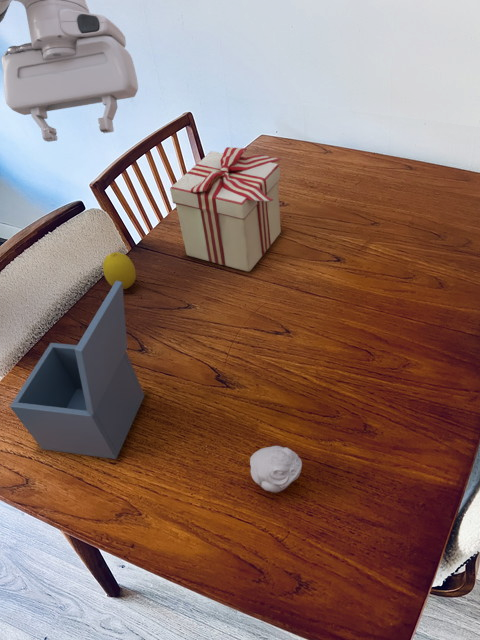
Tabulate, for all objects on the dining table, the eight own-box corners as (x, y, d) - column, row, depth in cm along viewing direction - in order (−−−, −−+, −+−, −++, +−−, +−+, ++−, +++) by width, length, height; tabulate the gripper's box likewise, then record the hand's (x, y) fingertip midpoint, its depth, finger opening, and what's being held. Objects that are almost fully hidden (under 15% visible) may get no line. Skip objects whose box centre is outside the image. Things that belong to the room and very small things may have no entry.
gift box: (269, 277, 97) (261, 193, 84) (182, 261, 102) (162, 179, 89) (299, 227, 107) (296, 145, 94) (219, 214, 112) (205, 135, 99)
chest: (41, 449, 75) (9, 406, 67) (76, 387, 82) (50, 342, 75) (116, 459, 73) (91, 416, 65) (144, 395, 80) (125, 349, 73)
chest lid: (74, 349, 55) (81, 351, 55) (116, 280, 63) (122, 281, 63) (87, 413, 65) (93, 414, 65) (122, 346, 72) (127, 348, 72)
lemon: (140, 277, 100) (128, 241, 94) (140, 295, 96) (128, 260, 90) (111, 281, 100) (98, 246, 94) (110, 300, 96) (96, 265, 90)
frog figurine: (292, 511, 66) (290, 484, 61) (244, 492, 68) (237, 465, 63) (310, 472, 70) (309, 443, 65) (263, 455, 72) (258, 427, 67)
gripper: (-15, 40, 76) (4, 141, 78) (115, 15, 72) (131, 121, 75) (13, 56, 82) (29, 149, 84) (134, 34, 78) (148, 131, 81)
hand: (78, 136), depth 80 cm, fingers open, 8 cm apart
